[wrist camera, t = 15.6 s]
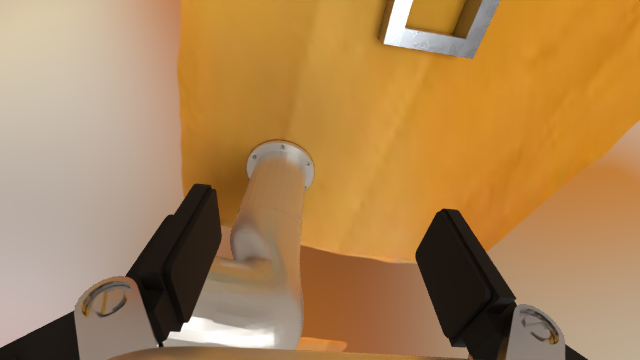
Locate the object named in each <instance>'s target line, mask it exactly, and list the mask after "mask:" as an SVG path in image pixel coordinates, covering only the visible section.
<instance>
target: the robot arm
mask: <svg viewBox="0 0 640 360" xmlns="http://www.w3.org/2000/svg"><path fill="white" fill-rule="evenodd" d="M282 145H284V146H282ZM246 171H247V175H248V177H249V179H250V181H249V183H248V186H247V189H246V192H245V194H244V197H243V200H242V203H241V205H240V208H239V211H238V213H237V216H236V219H235V222H234V224H233V227H232V230H231V235H230V245H231V251H232V254H233V257H234V259H233V260H231V259H227V258H223V257H218V256H215V255H216V253H217V250H218V248H219V245H220V242H221V236H222V235H221V226H220V218H219V210H218V202H217V194H216V190H215V189H212V187H211V185H205V184H194V185H193V187H192V188H191V190H190V191H189V193H188V194H187V196H186V197H185V199H184V200H183V202H182V204H181V205H180V207H179V208H178V209H177V211H176V213H175V214H174V215H168V216H167V217H166V218H165V219H164V221H163V222H162V223H161V225H160V227H159V228H158V229H157V231H156V232H155V234H154V235H153V237H152V238H151V239H150V241H149V242H148V244H147V245H146V247H145V248H144V250H143V251H142V253H141V254H140V256H139V257H138V258H137V260H136V261H135V263H134V264H133V266H132V267H131V269H130V270H129V272H128V273H127V274H126V276H125V277H124V276H118V277H111V278H108V279H105V280H102V281H100V282H98V283H97V284H95V285H93V286H92V287H90V288H89V289H88V290H87V291H86V292H84V294H83V295H82V296H81V297H80V298H79V300H78V302H77V304H76V305H75V310H74V311H73V312H70V313H69V314H67V315H65V316H63V317H61V318H59V319H57V320H55V321H53V322H51V323H49V324H47V325H45V326H43V327H41V328H39V329H37V330H35V331H33V332H31V333H29V334H27V335H25V336H23V337H21V338H19V339H17V340H15V341H13V342H11V343H9V344H7V345H5V346H3V347H1V348H0V360H588V359H586V358H585V357H583V356H582V355H580V354H579V353H577V352H576V351H574V350H573V349H571V348H570V347H569V346H567V345H566V344H565V340H564V335H563V333H562V332H561V330H560V328H559V327H558V326H557V324H556V323H555V322H554V321H553V320H552V319H551V318H550V317H549V316H548V315H546V314H545V313H544V312H542V311H541V310H539V309H537V308H535V307H533V306H530V305H526V304H520V305H518V306H517V305H516V303H515V302H514V300H515V299H516V297H515V296H514V294H513V293H512V291H511V290H510V288H509V287H508V285H507V284H506V282H505V281H504V279H503V278H502V276H501V274H500V273H499V271H498V270H497V268H496V267H495V265H494V264H493V262H492V261H491V259H490V258H489V256H488V255H487V253H486V252H485V250H484V248H483V247H482V245H481V244H480V242H479V241H478V239H477V238H476V236H475V235H474V233H473V232H472V230H471V229H470V227H469V226H468V224H467V223H466V221H465V220H464V218H463V217H462V215H461V213H460V212H459V211H458V210H454V209H442V210H441V211H439V212H437V213H436V215H435V217H434V219H433V221H432V223H431V224H430V226H429V228H428V230H427V232H426V234H425V236H424V238H423V239H422V241H421V243H420V245H419V247H418V249H417V251H416V261H417V263H418V266H419V269H420V272H421V274H422V277H423V280H424V282H425V285H426V288H427V290H428V293H429V296H430V298H431V301H432V304H433V306H434V309H435V312H436V314H437V317H438V320H439V322H440V325H441V328H442V330H443V333H444V335H445V336H446V337H447V338H449V341H450V343H451V346H452V347H467V349H468V352H469V355H468V359H460V358H442V357H424V356H406V355H405V356H404V355H388V354H367V353H348V352H328V351H307V350H295V348H296V347H297V345H298V342H299V340H300V337H301V333H302V328H303V315H304V308H303V296H302V289H301V279H300V265H299V264H300V262H299V261H300V242H301V229H302V217H303V205H304V192H305V191H306V190H307V189H308V188H309V186H310V185H311V183H312V182H313V178H314V165H313V161H312V159H311V158H310V156H309V155H308V153H307V152H306V151H305V150H304V149H302V148H301V147H299V146H298V145H296V144H294V143H291V142H288V141H282V140H274V141H268V142H265V143H262V144H261V145H259V146H257V147H256V148H255V149H254V150H253V151H252V152H251V154H250V156H249V158H248V160H247V165H246Z"/></svg>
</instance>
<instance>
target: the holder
mask: <svg viewBox="0 0 640 360" xmlns="http://www.w3.org/2000/svg"><path fill="white" fill-rule="evenodd" d="M412 1H413V0H388V1H387V5H386V9H385V13H384V17H383V21H382V25H381V29H380V33H379V37H378V39H379V40H380V41H381V42H382V43H383V44H388V45H394V46H400V47H406V48H412V49H418V50H424V51H429V52H435V53H441V54H447V55H453V56H459V57H465V58H471V59H473V58H474V55H475V53H476V51H477V49H478V47H479V45H480V43H481V40H482V38H483V36H484V34H485V32H486V30H487V28H488V25H489V23H490V21H491V19H492V17H493V15H494V13H495V10H496V8H497V6H498V4H499V2H500V0H466V3H465V5H464V8H463V10H462V13H461V15H460V18H459V20H458V23H457V25H456V28H455V30H454V33H453V34H448V33H442V32H437V31H431V30H425V29H420V28H414V27H408V26H405V24H406V21H407V18H408V14H409V11H410V8H411V4H412Z"/></svg>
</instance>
